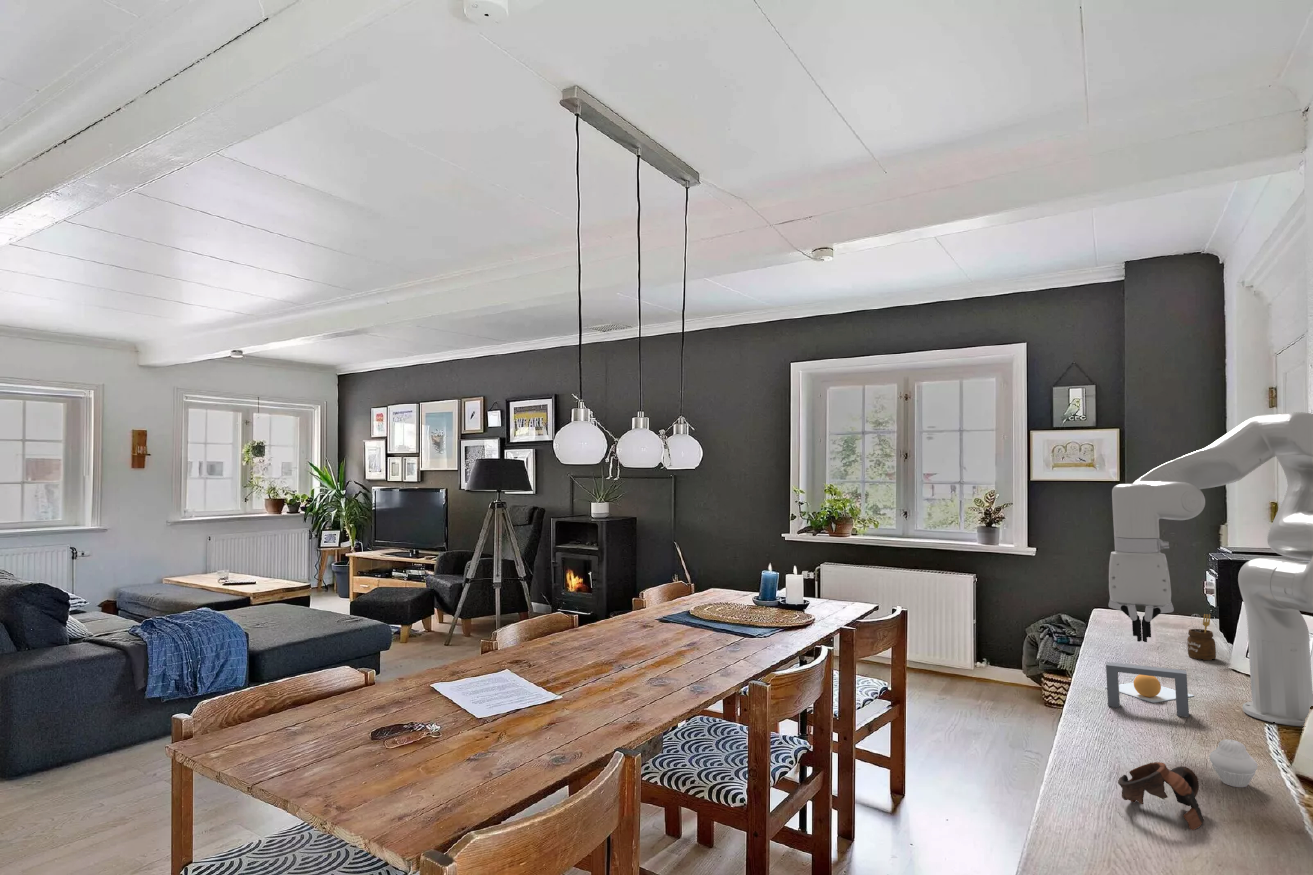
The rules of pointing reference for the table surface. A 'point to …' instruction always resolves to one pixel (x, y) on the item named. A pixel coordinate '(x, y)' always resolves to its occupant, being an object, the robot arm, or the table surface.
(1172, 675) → the bridge
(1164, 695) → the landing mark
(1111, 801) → the table surface
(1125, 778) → the broken clay pot
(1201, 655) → the utensil holder
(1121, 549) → the robot arm
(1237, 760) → the muffin
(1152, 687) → the ball
